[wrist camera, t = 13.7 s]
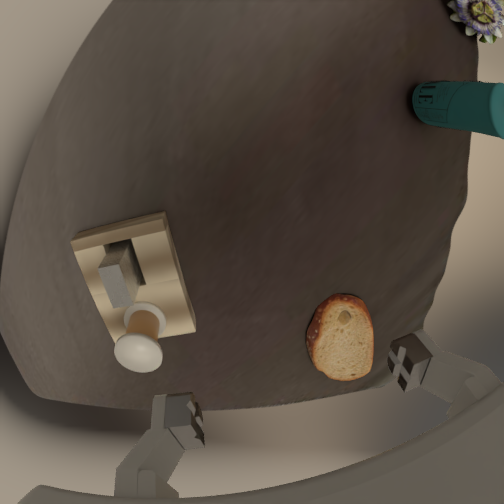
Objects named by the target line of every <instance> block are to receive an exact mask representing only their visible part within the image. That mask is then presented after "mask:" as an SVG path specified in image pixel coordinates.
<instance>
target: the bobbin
mask: <svg viewBox="0 0 504 504" xmlns="http://www.w3.org/2000/svg"><path fill="white" fill-rule="evenodd" d="M124 324H125V326H126V328H127V330H126V334H124V335H122V336H121V337H119V338H118V340H117V342H116V345H115V349H114V354H115V357H116V359H117V360H118V361H119V363H120V364H121V365H123V366H124V367H126V368H127V369H130V370H132V371H136V372H150V371H153V370H155V369H157V368H158V367H159V366H160V365H161V362H162V356H163V352H162V348H161V346H160V345H159V344H158V342H157V341H158V336H160V335H161V334H162V333H163V332H164V330H165V327H166V316H165V314H164V312H163V311H162V309H161V308H160V307H158V306H157V305H155V304H153V303H151V302H147V301H138V302H135V303H134V305H133V306H129V307H128V308H127V309H126V312H125V315H124Z"/></svg>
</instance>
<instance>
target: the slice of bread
mask: <svg viewBox="0 0 504 504" xmlns="http://www.w3.org/2000/svg"><path fill="white" fill-rule="evenodd" d="M306 344H307V349H308V352H309V355H310V358H311V360H312V362H313V364H314V366H315V367H316V368H317V369H318V370H319V371H323V372H324V373H325V374H326V376H328V377H329V378H332V379H335V380H340V381H348V380H354V379H357V378H360V377H362V376H364V375H366V374H367V373H368V372H369V371H370V369H371V366H372V362H373V348H374V340H373V326H372V322H371V317H370V315H369V312H368V309H367V307H366V305H365V303H364V302H363V301H362V300H361V299H359V298H357V297H355V296H352V295H344V294H338V293H337V294H334V295H332V296H330V297H329V298H328V299H326V300H325V301H323V302H322V303H321V304H320V305H319V306H318V307H317V308H316V310H315V314H314V317H313V319H312V322H311V324H310V325H309V327H308V330H307V336H306Z"/></svg>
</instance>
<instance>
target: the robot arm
mask: <svg viewBox="0 0 504 504" xmlns="http://www.w3.org/2000/svg"><path fill="white" fill-rule="evenodd" d="M390 348H391V352H390V353H389V354H388V358H387V362H388V367H389V370H390V371H391V373H392V375H395V376H397V377H398V380H397V382H398V384H399V385H400V386H401V388H402V390H403V391H404V392H407V391H409V390H411V389H414V388H416V387H418V386H421V387H422V388H424V389H426V390H427V391H429V392H431V393H433V394H435V395H437V396H438V397H440V398H442V399H444V400H446V401H447V402H449V403H451V404H452V405H451V407H450V408H449V410H448V412H447V416H448V418H449V419H448V420H447V421H445V422H443V423H441V424H440V425H438V426H436V427H434V428H432V429H431V430H429V431H427V432H425V433H423V434H421V435H419V436H417V437H416V438H413V439H411V440H409V441H407V442H405V443H403V444H401V445H399V446H397V447H394V448H392V449H390V450H388V451H385V452H383V453H381V454H378V455H376V456H374V457H371V458H368V459H366V460H363V461H361V462H358V463H355V464H352V465H350V466H347V467H344V468H341V469H338V470H335V471H332V472H328V473H326V474H322V475H318V476H315V477H311V478H308V479H304V480H301V481H296V482H293V483H288V484H284V485H279V486H275V487H270V488H265V489H259V490H253V491H247V492H241V493H234V494H226V495H217V496H207V497H193V498H192V497H191V498H179V494H178V492H177V491H176V490H175V489H173V488H172V487H171V486H170V485H169V484H167V481H168V480H169V478H170V476H171V475H172V473H173V471H174V469H175V467H176V466H177V464H178V462H179V460H180V458H181V457H182V455H183V453H184V450H187V449H195V448H203V447H205V440H204V433H203V431H202V429H201V427H202V425H203V417H202V412H201V409H200V406H199V404H198V403H197V402H195V396H194V394H193V392H185V393H176V394H166V395H155V396H154V398H153V407H152V420H151V429H150V430H147V431H146V432H145V433H144V435H143V436H142V437H141V439H140V440H139V441H138V442H137V444H136V445H135V446H134V448H133V449H132V450H131V451H130V452H129V454H128V455H127V456H126V458H125V459H124V460H123V461H122V462H121V464H120V465H119V466H118V467H117V469H116V478H115V490H114V496H105V495H96V494H88V493H82V492H75V491H70V490H64V489H59V488H54V487H50V486H46V485H39V486H37V487H35V488H34V489H32V490H31V491H30V492H29V493H28V494H27V495H26V496H25V497H24V498H23V499H21V500H20V501H19V502H18V504H504V382H503V383H501V382H500V381H499V379H498V378H497V377H496V376H495V375H494V374H493V372H492V371H491V370H490V369H489V368H488V367H487V366H486V365H483V364H481V363H478V362H475V361H472V360H469V359H467V358H464V357H461V356H458V355H455V354H453V353H450V352H447V351H444V352H443V351H442V350H441V349H440V348H439V347H438V346H437V345H436V343H435V342H434V341H433V340H432V339H431V338H430V337H429V335H428V334H427V333H426V332H425V331H424V330H422V329H421V330H418V331H416V332H413V333H410V334H408V335H405V336H403V337H400V338H398V339H395V340H393V341H392V342H391V344H390Z"/></svg>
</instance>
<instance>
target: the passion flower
mask: <svg viewBox="0 0 504 504" xmlns="http://www.w3.org/2000/svg"><path fill="white" fill-rule="evenodd" d="M447 6H448V7H450V8H452V9H453V13H452V14H451V15H450V19H451V20H453V21H456V22H463V23H464V24H465V25H466V28H465V32H466V35H468V36H470V35H474V34H475V33H478V34H482V37H481V38H480V39H479V41H481V42H484V43H485V42H488V43H489V44H493V43H494V42H495V40H496V38H497V37H498V38H502V33H501V31H500V27H499V24H501V25H503V26H504V16H503V15H501V12H499V10H502V7H503V6H504V0H451V1H449V2H448V3H447Z"/></svg>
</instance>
